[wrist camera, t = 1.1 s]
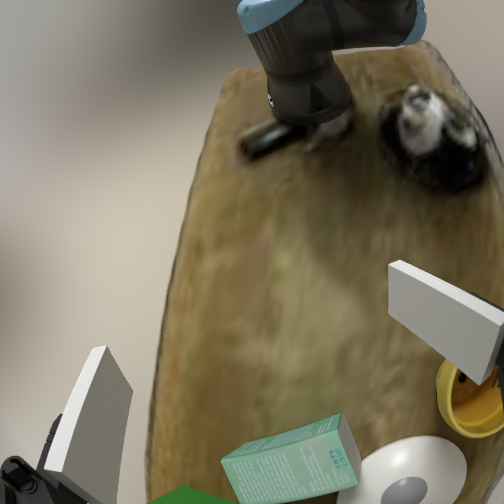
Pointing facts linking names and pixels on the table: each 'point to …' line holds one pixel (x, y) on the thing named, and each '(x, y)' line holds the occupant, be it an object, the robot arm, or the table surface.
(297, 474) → the box
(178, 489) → the hardback book
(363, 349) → the table surface
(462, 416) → the plant pot
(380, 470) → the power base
